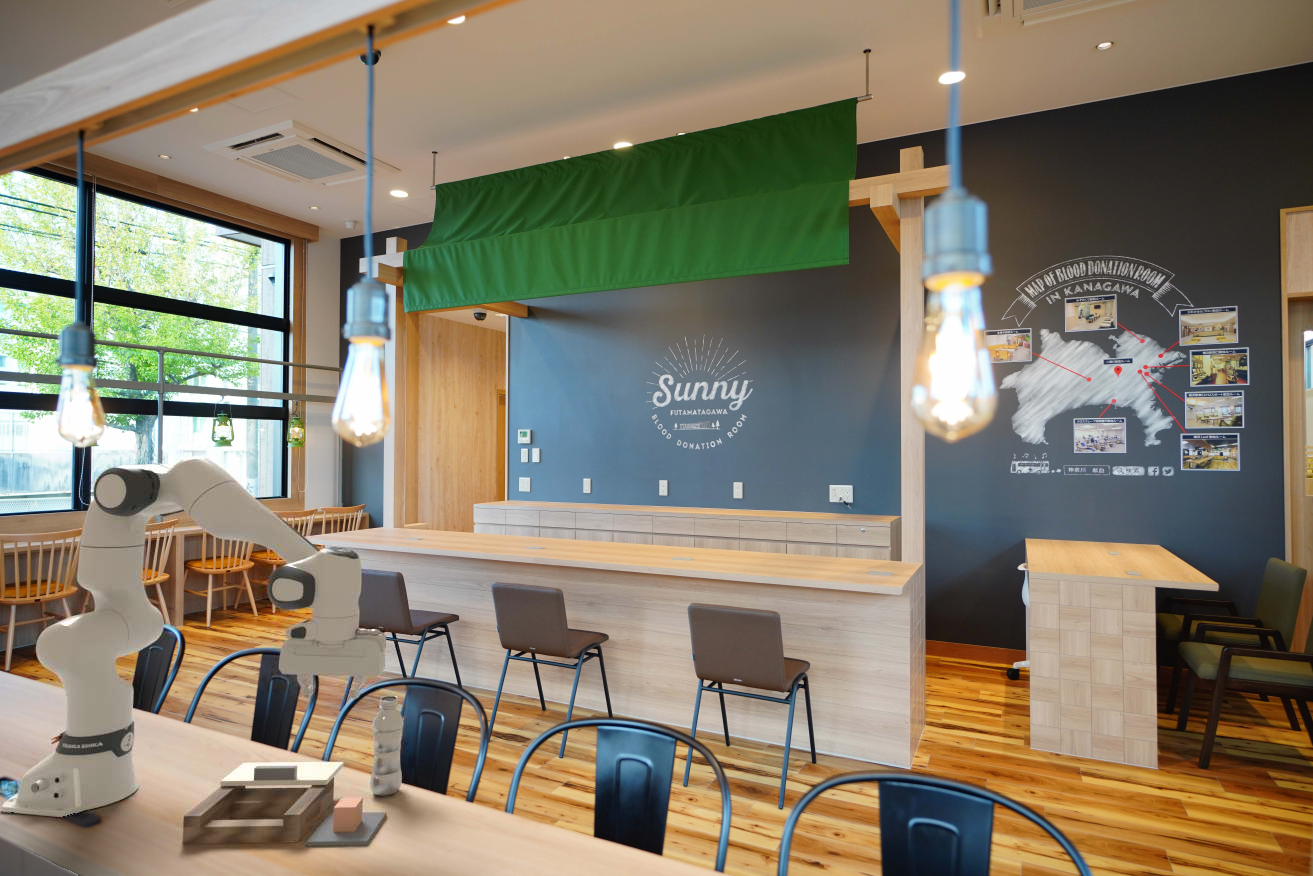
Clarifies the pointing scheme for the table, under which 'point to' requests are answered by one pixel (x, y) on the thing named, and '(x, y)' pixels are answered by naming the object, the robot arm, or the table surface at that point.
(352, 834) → the coaster
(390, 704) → the plastic bottle
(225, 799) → the wooden box
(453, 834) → the table surface
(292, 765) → the lid
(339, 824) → the block
